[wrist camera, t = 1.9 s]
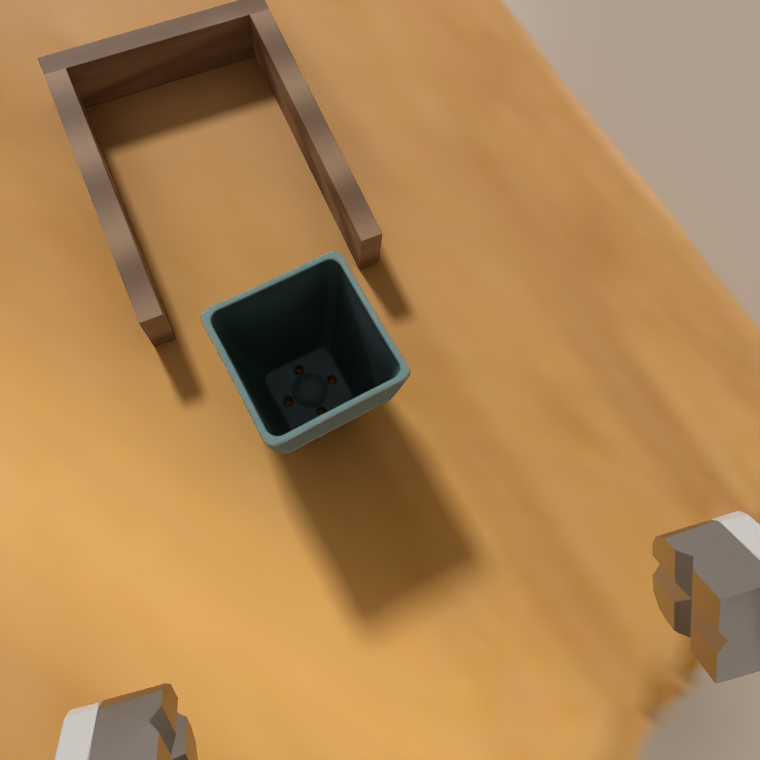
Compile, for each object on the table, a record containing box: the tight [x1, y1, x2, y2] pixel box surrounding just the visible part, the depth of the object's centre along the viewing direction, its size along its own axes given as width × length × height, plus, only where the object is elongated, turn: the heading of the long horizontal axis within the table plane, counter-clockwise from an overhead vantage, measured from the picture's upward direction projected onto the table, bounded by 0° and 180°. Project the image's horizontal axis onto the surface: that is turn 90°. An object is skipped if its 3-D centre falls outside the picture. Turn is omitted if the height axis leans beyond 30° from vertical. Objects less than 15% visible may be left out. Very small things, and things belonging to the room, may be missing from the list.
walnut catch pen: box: [38, 0, 382, 346], centre depth 49 cm, size 22×16×4 cm
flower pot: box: [201, 251, 410, 455], centre depth 43 cm, size 9×9×9 cm
